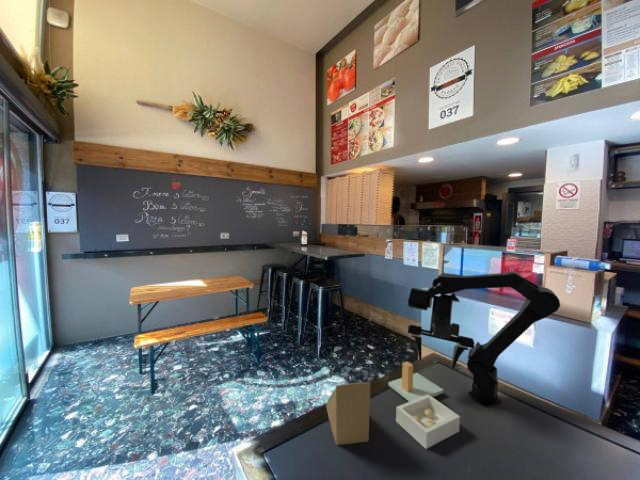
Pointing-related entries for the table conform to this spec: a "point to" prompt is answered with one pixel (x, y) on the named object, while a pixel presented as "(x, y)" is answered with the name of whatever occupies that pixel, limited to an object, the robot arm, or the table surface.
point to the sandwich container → (350, 413)
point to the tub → (427, 420)
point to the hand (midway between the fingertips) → (435, 364)
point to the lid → (413, 384)
